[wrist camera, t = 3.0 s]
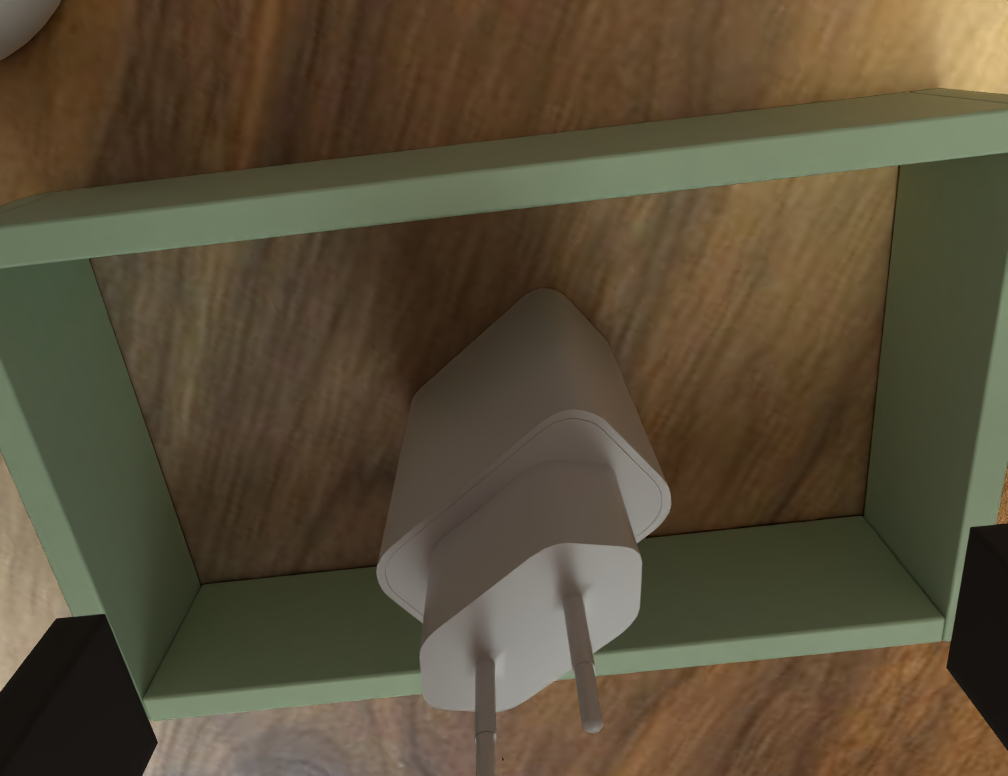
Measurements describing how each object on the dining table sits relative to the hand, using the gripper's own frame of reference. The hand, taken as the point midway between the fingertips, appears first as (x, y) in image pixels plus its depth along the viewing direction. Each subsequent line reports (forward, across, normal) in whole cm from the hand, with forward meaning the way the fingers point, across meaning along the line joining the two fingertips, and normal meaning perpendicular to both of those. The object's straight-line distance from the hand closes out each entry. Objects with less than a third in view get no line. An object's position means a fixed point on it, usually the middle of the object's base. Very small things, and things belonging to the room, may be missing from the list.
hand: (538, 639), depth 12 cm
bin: (+10, 0, 0) cm, 10 cm away
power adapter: (+10, 0, 0) cm, 10 cm away
